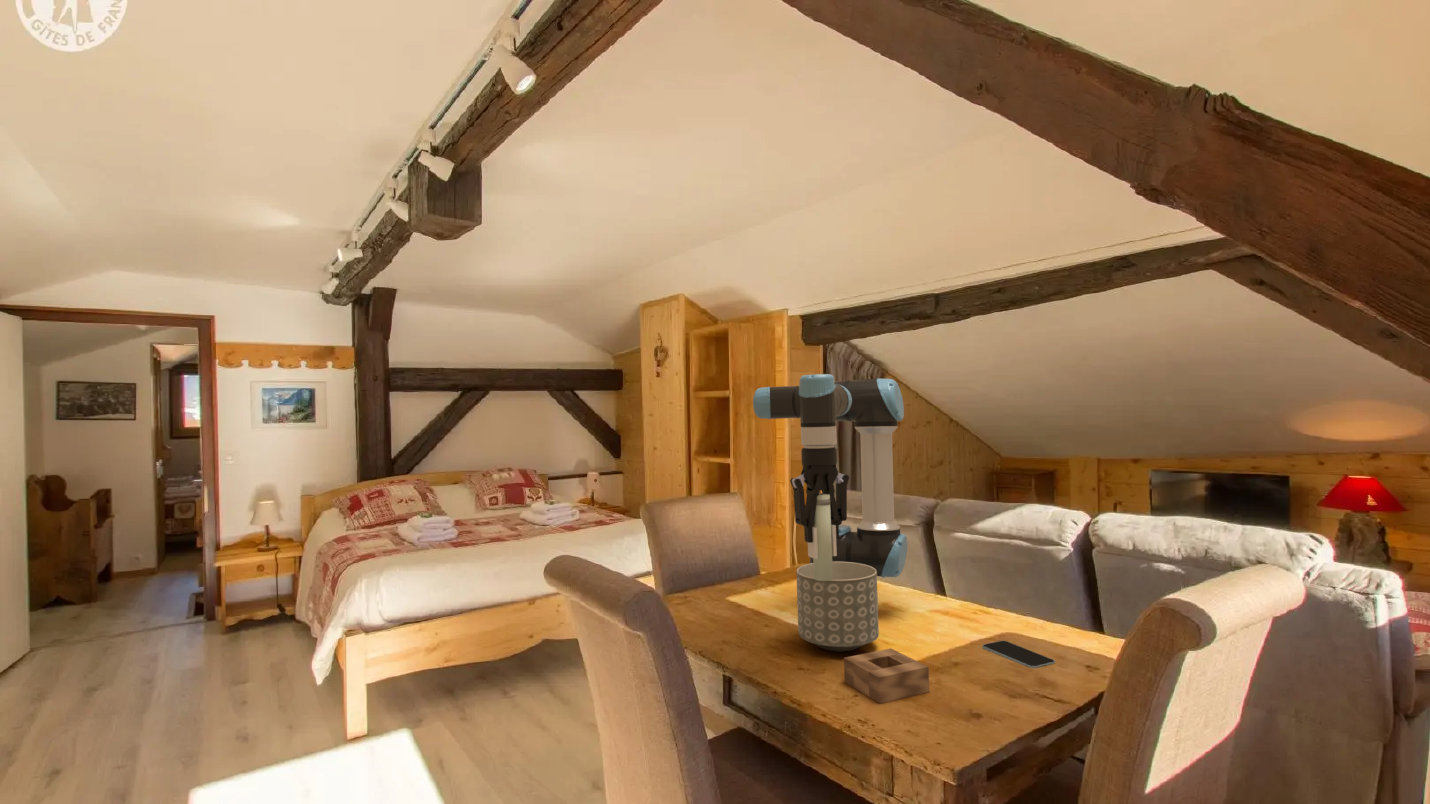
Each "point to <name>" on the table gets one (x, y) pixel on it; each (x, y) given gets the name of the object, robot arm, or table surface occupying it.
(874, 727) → the table surface
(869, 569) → the planter
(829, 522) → the banded green cylinder
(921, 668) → the square wooden socket block
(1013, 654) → the smartphone
